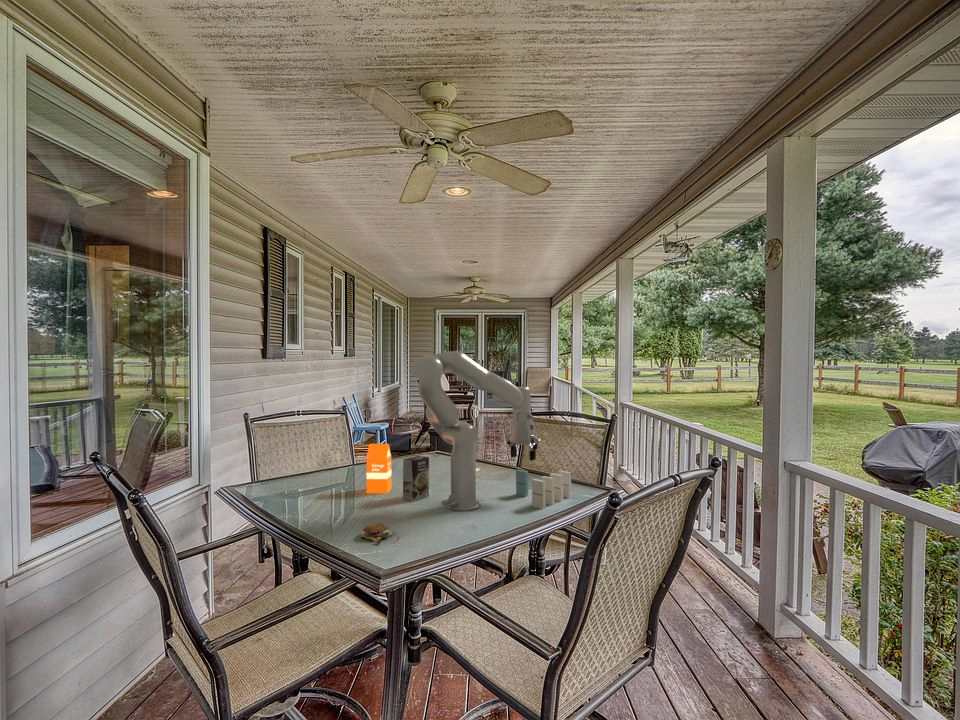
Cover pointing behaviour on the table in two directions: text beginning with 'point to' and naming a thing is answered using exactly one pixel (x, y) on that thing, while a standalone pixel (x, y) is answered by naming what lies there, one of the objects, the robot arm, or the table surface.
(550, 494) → the domino
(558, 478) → the domino
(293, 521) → the table surface
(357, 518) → the table surface
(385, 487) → the orange juice
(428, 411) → the robot arm
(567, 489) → the domino
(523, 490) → the domino
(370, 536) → the hamburger
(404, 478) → the coffee box
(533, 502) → the domino
